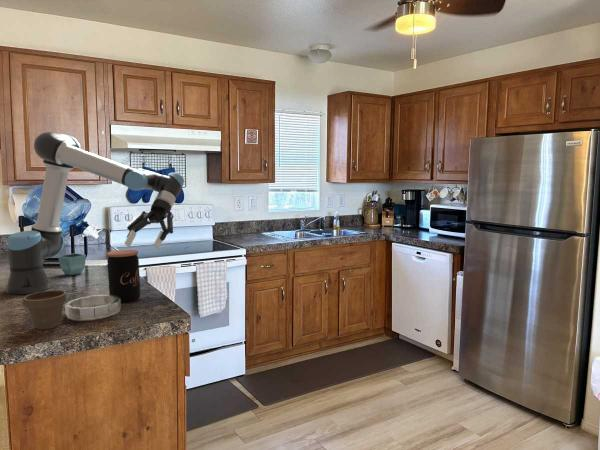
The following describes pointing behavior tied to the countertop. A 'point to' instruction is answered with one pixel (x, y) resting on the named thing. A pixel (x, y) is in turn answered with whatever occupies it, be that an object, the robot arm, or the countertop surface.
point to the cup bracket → (92, 307)
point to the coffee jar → (124, 275)
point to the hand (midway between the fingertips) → (141, 245)
